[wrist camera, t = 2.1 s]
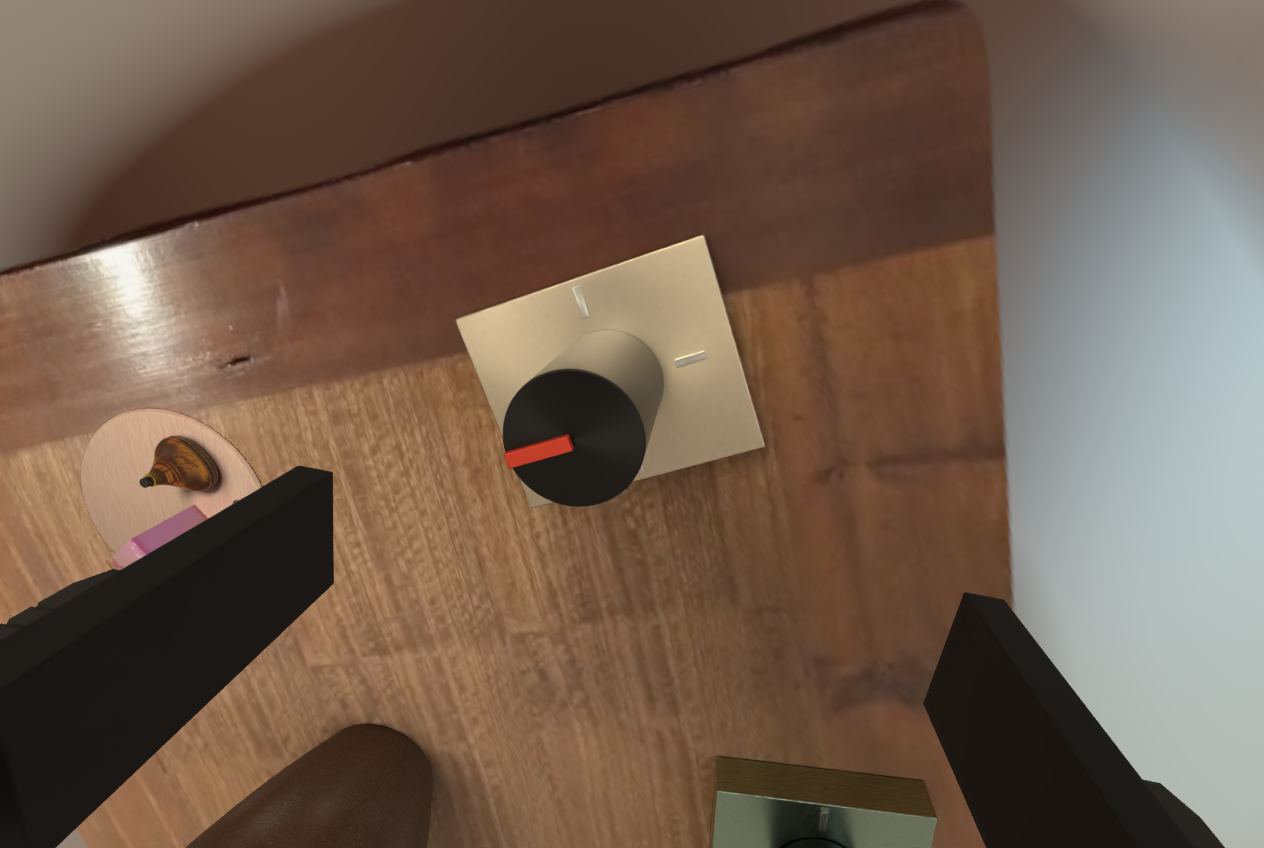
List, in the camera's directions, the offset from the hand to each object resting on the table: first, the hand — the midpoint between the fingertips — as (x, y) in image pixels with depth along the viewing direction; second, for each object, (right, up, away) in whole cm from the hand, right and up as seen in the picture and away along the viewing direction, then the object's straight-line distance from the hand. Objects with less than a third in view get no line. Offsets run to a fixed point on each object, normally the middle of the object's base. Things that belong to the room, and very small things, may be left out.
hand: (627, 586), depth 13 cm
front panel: (-1, +6, +18) cm, 19 cm away
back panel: (+11, -22, +26) cm, 36 cm away
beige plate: (-27, -1, +24) cm, 36 cm away
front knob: (-1, +5, +16) cm, 17 cm away
